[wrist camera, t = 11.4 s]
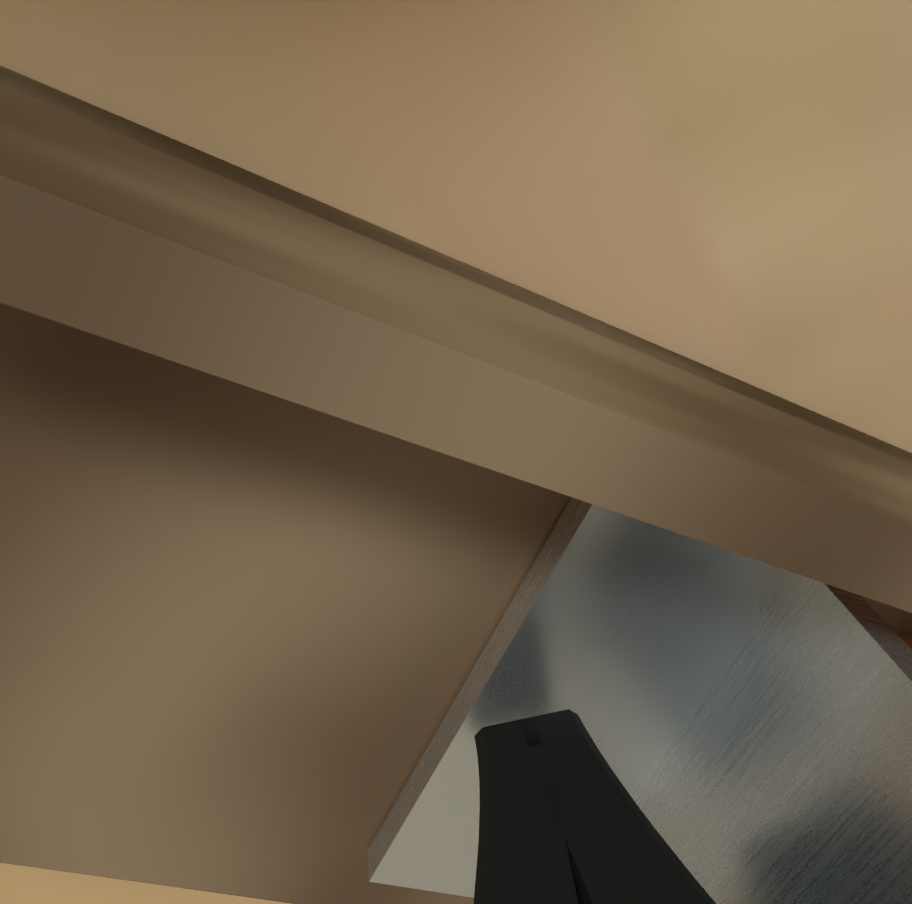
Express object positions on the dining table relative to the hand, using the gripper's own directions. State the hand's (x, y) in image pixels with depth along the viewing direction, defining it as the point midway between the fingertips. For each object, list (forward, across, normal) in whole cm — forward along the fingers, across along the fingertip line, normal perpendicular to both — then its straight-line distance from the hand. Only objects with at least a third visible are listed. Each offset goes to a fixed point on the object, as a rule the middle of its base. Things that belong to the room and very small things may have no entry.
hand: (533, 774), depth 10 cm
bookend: (+1, -1, +1) cm, 2 cm away
